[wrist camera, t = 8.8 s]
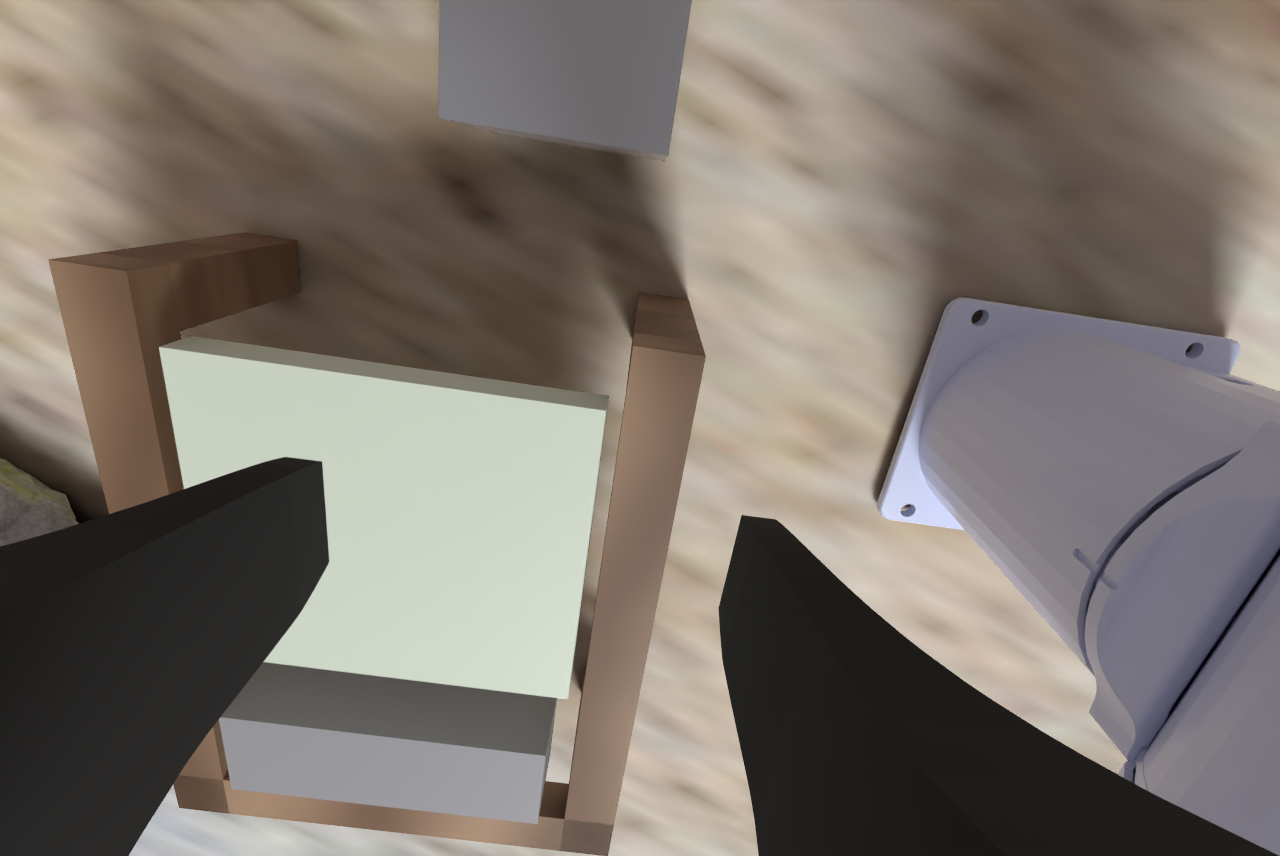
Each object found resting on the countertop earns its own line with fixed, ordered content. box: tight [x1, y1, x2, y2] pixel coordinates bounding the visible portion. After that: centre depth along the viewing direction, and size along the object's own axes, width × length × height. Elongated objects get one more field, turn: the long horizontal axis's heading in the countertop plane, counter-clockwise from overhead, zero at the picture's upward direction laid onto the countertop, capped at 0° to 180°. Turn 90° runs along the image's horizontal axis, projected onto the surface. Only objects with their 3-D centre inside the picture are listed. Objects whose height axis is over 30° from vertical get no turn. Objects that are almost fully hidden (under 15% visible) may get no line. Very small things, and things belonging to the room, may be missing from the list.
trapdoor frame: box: [49, 233, 706, 856], centre depth 19 cm, size 14×17×6 cm
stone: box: [438, 0, 692, 161], centre depth 14 cm, size 5×5×5 cm
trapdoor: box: [159, 336, 609, 824], centre depth 16 cm, size 14×10×2 cm
